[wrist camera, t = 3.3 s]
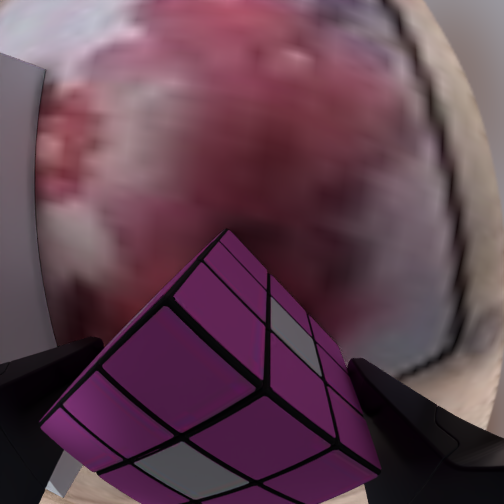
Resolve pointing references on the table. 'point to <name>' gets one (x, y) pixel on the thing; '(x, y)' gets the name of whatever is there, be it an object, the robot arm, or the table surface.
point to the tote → (23, 233)
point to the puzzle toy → (219, 396)
